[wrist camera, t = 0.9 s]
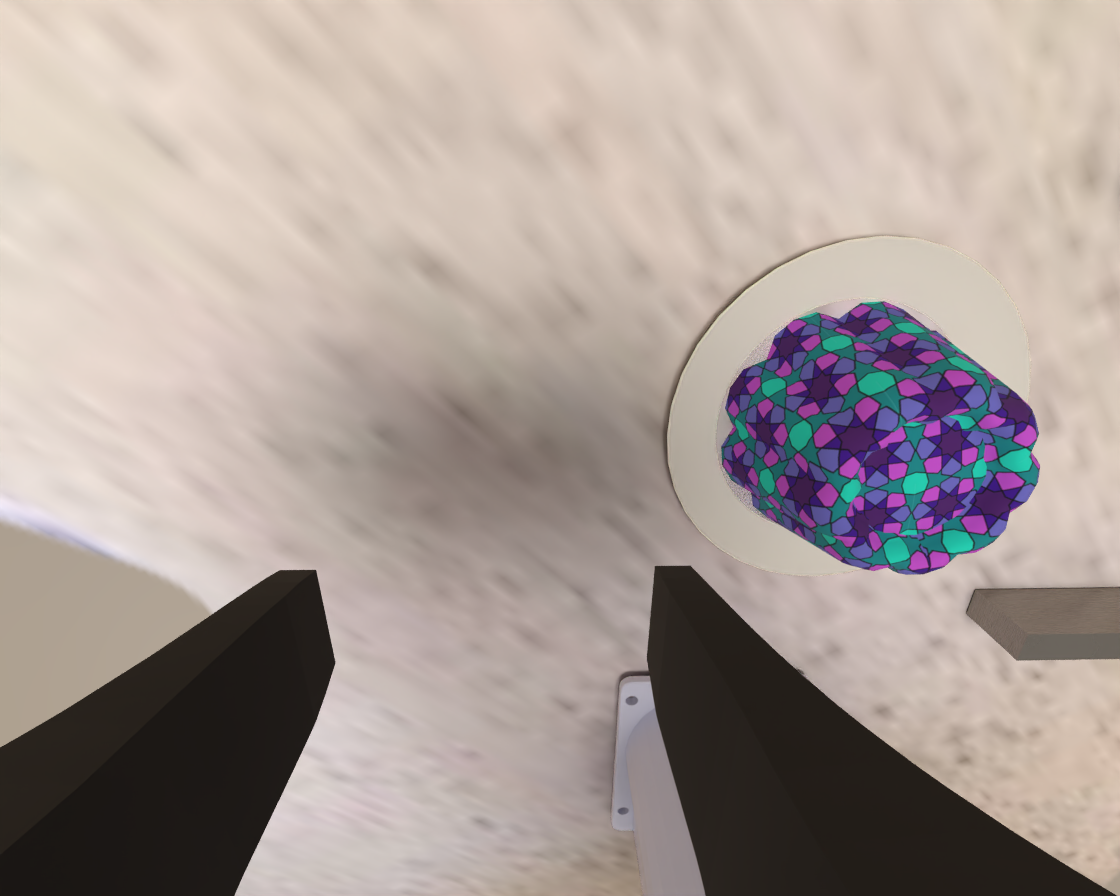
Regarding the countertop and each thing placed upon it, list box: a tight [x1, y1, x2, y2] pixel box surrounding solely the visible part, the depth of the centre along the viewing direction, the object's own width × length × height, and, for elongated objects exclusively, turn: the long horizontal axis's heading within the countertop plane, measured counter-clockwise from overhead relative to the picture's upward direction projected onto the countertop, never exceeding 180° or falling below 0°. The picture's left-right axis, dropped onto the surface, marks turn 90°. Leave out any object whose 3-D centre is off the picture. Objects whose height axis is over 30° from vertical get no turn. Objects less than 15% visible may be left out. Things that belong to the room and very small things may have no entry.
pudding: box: [667, 236, 1040, 576], centre depth 16 cm, size 12×12×5 cm
